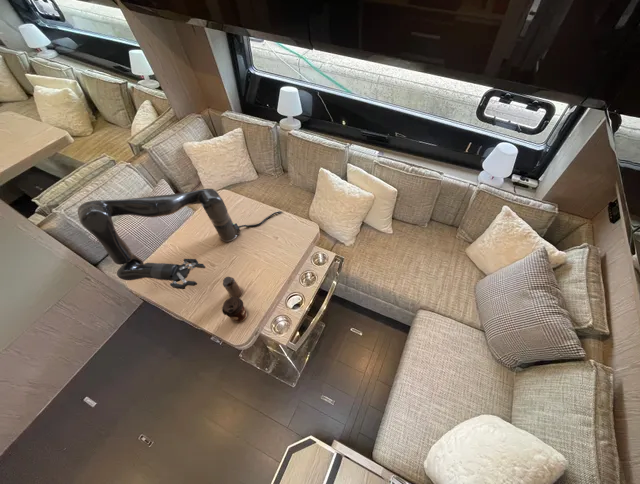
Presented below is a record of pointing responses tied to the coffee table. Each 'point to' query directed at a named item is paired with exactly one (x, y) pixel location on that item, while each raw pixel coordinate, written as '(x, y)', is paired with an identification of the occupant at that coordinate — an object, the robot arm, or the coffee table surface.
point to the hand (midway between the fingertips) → (200, 274)
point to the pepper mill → (232, 287)
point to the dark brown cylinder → (234, 309)
